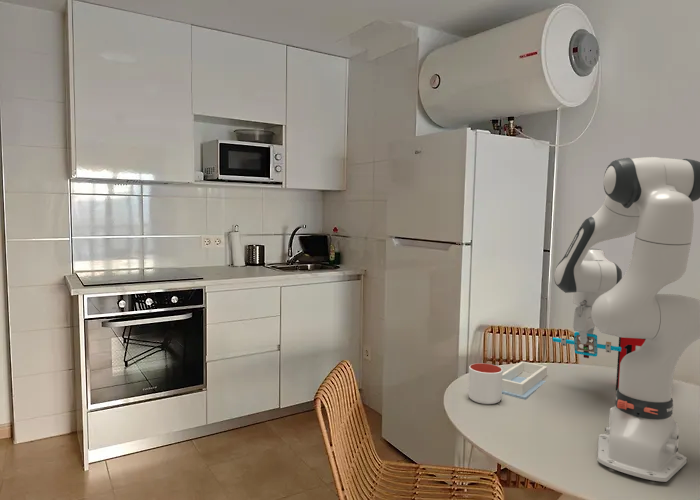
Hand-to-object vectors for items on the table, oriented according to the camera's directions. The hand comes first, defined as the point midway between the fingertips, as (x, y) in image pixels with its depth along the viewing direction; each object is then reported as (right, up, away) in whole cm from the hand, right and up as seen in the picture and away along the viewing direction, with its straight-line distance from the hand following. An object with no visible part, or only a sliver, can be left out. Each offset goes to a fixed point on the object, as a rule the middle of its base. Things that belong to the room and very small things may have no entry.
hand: (586, 341), depth 158 cm
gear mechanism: (+1, -5, +2) cm, 6 cm away
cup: (-34, -17, -6) cm, 39 cm away
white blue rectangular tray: (-18, -16, +8) cm, 26 cm away
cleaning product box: (+19, -18, +5) cm, 26 cm away
